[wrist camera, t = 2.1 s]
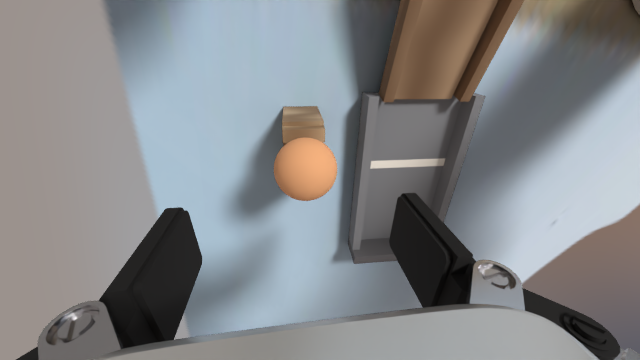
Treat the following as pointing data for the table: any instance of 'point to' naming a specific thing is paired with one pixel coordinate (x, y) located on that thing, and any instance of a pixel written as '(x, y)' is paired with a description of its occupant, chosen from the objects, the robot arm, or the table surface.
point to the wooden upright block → (302, 123)
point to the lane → (405, 163)
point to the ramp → (444, 47)
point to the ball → (305, 169)
